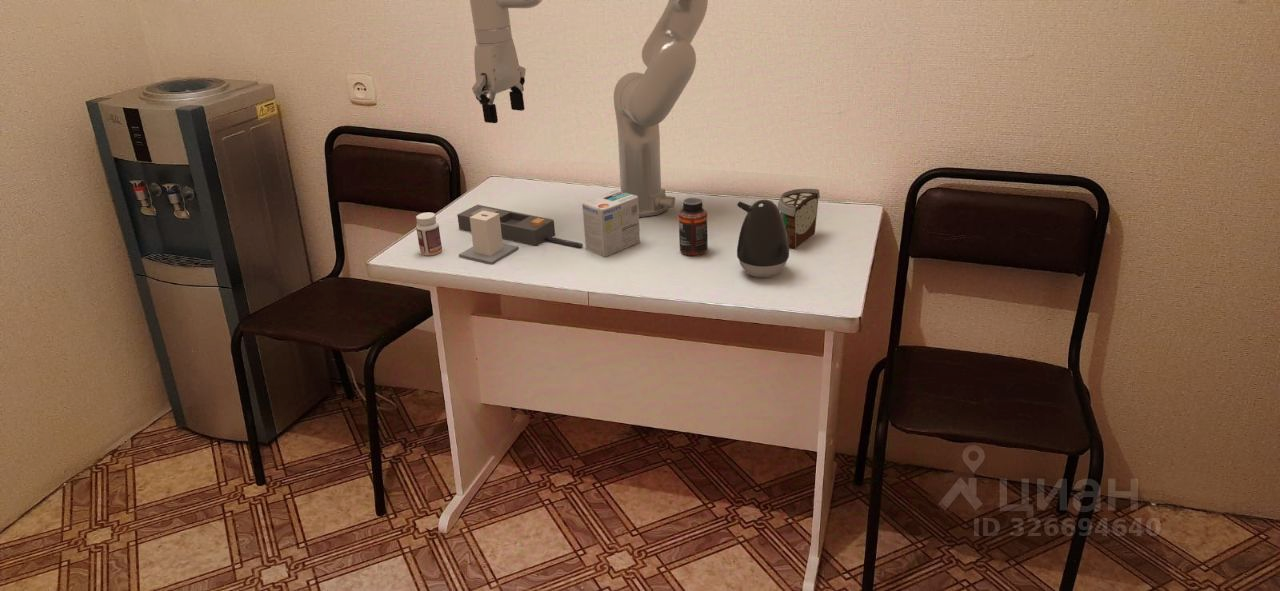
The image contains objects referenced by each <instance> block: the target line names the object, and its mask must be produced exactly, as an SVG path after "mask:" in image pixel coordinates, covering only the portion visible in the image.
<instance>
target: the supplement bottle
mask: <svg viewBox="0 0 1280 591" xmlns="http://www.w3.org/2000/svg"><path fill="white" fill-rule="evenodd" d="M703 206H704V205H703V200H702V199H701V198H699V197H687V198H685V199H683V201H682V209H680V211H678V233H679V234H678V237H679V241H678V242H679V243H678V244H679V251H680V253H681V254H682V255H685V256H690V257H695V256H696V257H697V256H701V255H704V254H706V253H707V251H708V236H709V235H708V212H707V210H706V209H705V208H704V207H703Z"/></svg>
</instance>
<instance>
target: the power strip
mask: <svg viewBox="0 0 1280 591" xmlns="http://www.w3.org/2000/svg"><path fill="white" fill-rule="evenodd" d="M481 211H488V212H494V213H499V216H500V224H501V233H502V240H507V241H512V242H515V243H516V242H517V243H521V244H524V245H530V246H535V247H537V246H539V245H540V244H543V243H544V242H545V241H548V242H552V243H556V244H561V245H566V246H570V247H575V248H580V249H582V248H583V246H584V244H583V243H582V242H577V241H572V240H568V239H563V238H557V237H554V236H555V235H556V230H555V229H556V228H555V227H556V226H555V220H554V219H551V218H547V217H541V216H537V215H532V214H526V213H521V212H516V211H512V210H506V209H502V208H497V207H493V206H487V205H481V204H476V205H473V206H472V207H470V208H468V209H466V210H464V211H462V212H460V213H458V214H457V215H456V216H457V222H458V229H459V230H460V231H465V232H470V233H472V232H471V224H470V217H471V216H473V215H475V214H477V213H479V212H481Z"/></svg>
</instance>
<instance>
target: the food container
mask: <svg viewBox="0 0 1280 591" xmlns="http://www.w3.org/2000/svg"><path fill="white" fill-rule="evenodd" d="M820 196H821V195H820V189H817V188H797V189H795V188H794V189H790V190H788V191H785V192H783V193H782V194H781V195H780V196H779V199H778V202H777V205H776V206H777V208H778V209H779V211H780V213H781V215H782V218H783V221H784V224H785V227H786V231H787V236H788V243H789V249H792V250H797V249H799V248H800V247H801V246H802V245H804V244H805V243H806V242H808V240H810V239H811V238H812V237H814V236H816V229H817V228H816V226H817V216H818V206H819V199H820Z"/></svg>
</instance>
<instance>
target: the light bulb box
mask: <svg viewBox="0 0 1280 591" xmlns="http://www.w3.org/2000/svg"><path fill="white" fill-rule="evenodd" d="M581 204H582V217H583V228H584V229H583V231H584V241H585V242H584V243H585V249H586V250H587V251H588V252H589V251H590V252H592V253H595V254H597V255H599V256H601V257H604V258H606V257H608V256H610V255H612V254H615V253H617V252H620V251H622V250H624V249H627V248H630V247H632V246H633V245H636V244H638V243H639V244H640V243H641V234H640V230H641V229H640V217H639V208H638V196H636V195H632V194H629V193H625V192H622V191H621V190H618V189H617V190H614V191H611V192H609V193H607V194H605V195H601V196H599V197H597V198H594V199H591V200H589V201H586V202H582V203H581Z"/></svg>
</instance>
